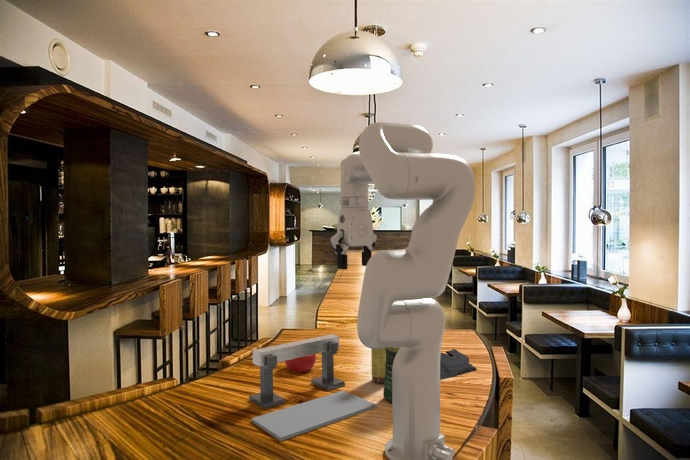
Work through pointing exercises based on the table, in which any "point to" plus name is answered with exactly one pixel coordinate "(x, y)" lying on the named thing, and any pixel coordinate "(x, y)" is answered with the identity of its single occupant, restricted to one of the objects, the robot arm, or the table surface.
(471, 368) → the dark grey notched piece
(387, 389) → the coffee jar
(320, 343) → the hang bar
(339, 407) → the mat
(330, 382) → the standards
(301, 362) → the pomegranate
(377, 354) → the sauce bottle
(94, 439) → the table surface
